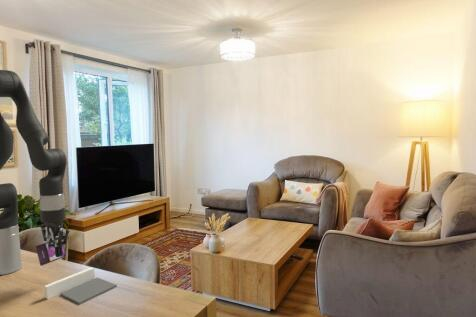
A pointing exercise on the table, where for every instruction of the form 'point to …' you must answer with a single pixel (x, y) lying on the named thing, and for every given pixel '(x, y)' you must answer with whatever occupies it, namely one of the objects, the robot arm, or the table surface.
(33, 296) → the table surface
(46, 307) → the table surface
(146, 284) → the table surface
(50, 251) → the purple framed toy figure
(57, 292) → the low wall
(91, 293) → the rubber mat
